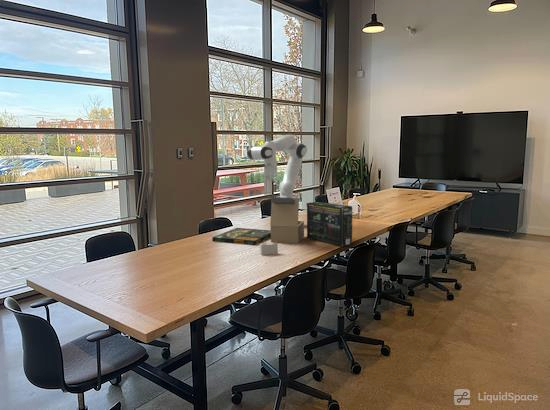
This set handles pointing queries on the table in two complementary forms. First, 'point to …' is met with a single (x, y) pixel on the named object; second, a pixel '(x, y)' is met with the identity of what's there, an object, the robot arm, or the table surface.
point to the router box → (329, 223)
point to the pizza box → (243, 236)
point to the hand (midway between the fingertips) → (271, 181)
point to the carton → (288, 233)
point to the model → (268, 248)
